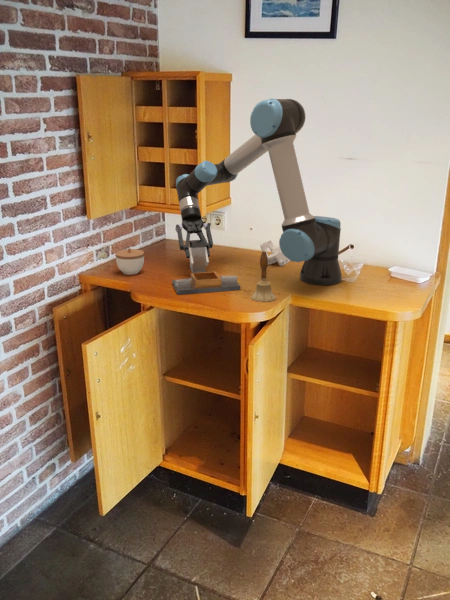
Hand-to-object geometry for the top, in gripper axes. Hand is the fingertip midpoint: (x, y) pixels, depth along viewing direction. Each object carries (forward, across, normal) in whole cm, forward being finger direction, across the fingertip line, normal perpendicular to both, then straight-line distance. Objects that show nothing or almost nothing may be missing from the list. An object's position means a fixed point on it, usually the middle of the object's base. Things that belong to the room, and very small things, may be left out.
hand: (199, 264), depth 206 cm
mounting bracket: (-5, -34, -14) cm, 37 cm away
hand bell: (+22, -16, +14) cm, 31 cm away
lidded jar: (-6, +24, -13) cm, 28 cm away
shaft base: (+11, 0, +4) cm, 12 cm away
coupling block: (0, 0, -5) cm, 5 cm away
